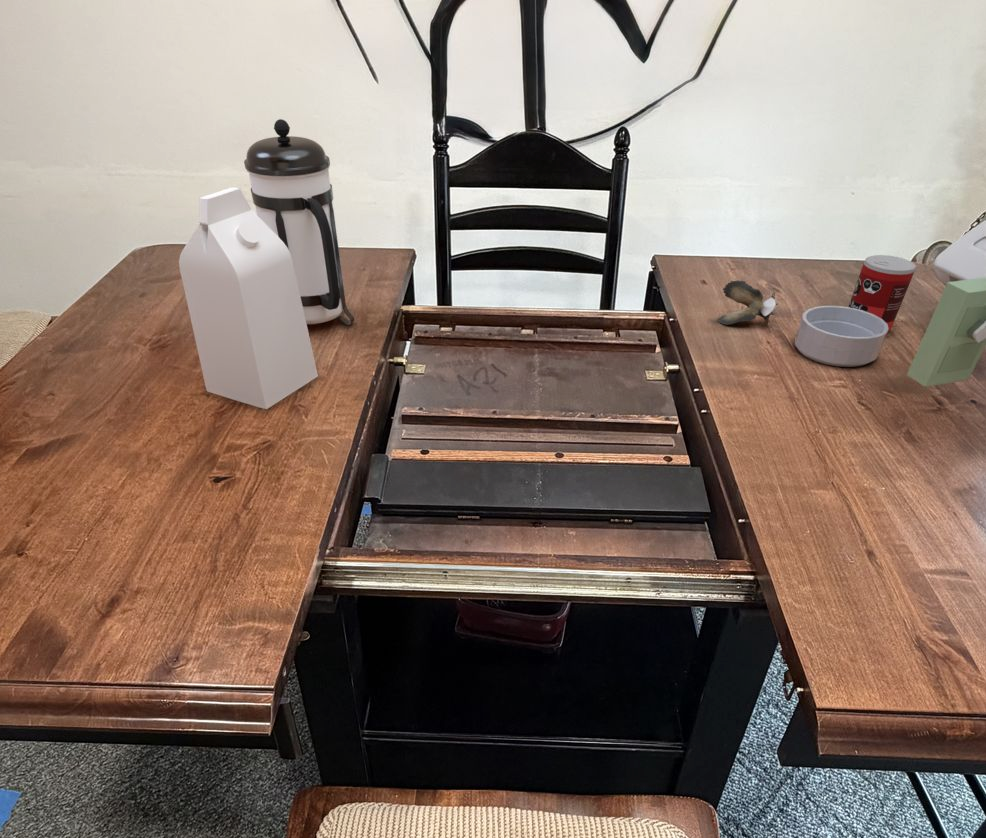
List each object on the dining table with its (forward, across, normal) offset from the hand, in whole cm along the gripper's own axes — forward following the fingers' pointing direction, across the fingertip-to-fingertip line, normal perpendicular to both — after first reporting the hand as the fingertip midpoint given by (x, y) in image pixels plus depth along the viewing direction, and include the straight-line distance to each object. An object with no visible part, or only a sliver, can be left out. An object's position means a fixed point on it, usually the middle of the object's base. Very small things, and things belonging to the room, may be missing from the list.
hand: (956, 329), depth 89 cm
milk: (+71, -41, -49) cm, 95 cm away
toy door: (+4, 0, +5) cm, 7 cm away
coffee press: (+63, -61, -41) cm, 97 cm away
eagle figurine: (+11, -41, +10) cm, 44 cm away
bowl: (+6, -26, +16) cm, 31 cm away
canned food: (-2, -33, +24) cm, 41 cm away
